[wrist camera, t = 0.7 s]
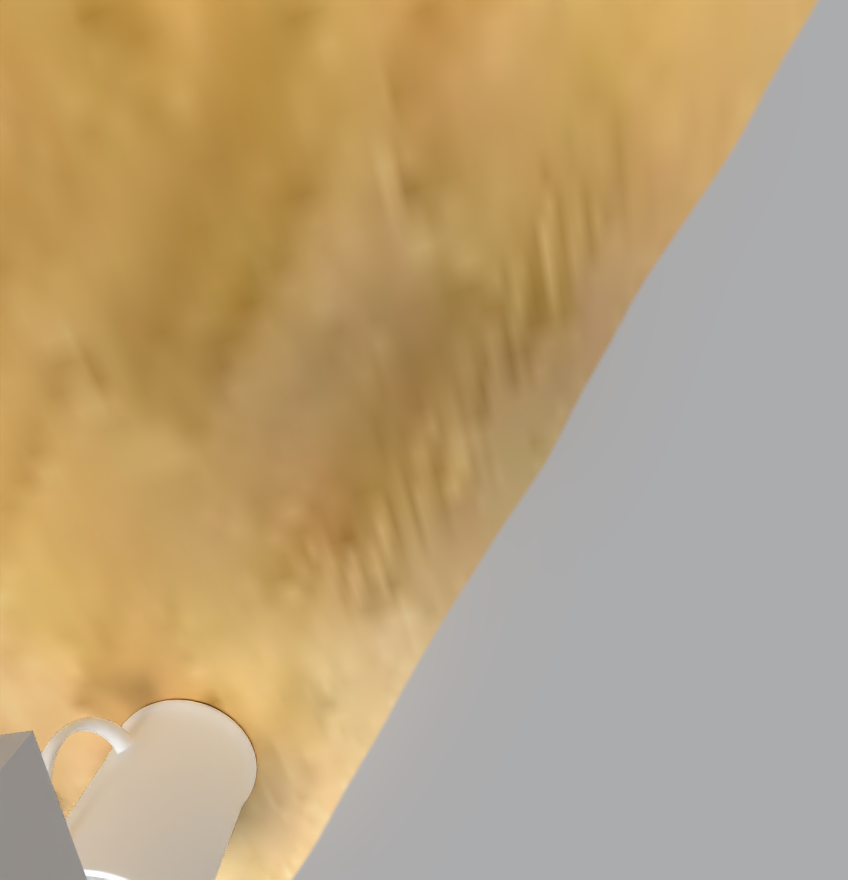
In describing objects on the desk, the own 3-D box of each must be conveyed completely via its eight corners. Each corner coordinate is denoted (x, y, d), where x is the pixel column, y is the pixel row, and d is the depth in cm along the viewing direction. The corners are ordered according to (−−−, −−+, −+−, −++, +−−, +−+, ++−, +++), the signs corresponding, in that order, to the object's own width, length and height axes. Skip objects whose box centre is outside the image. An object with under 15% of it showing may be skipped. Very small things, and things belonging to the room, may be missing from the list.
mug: (61, 679, 44) (-79, 841, 32) (191, 631, 43) (94, 780, 31) (156, 837, 47) (59, 1038, 35) (281, 795, 46) (222, 989, 34)
